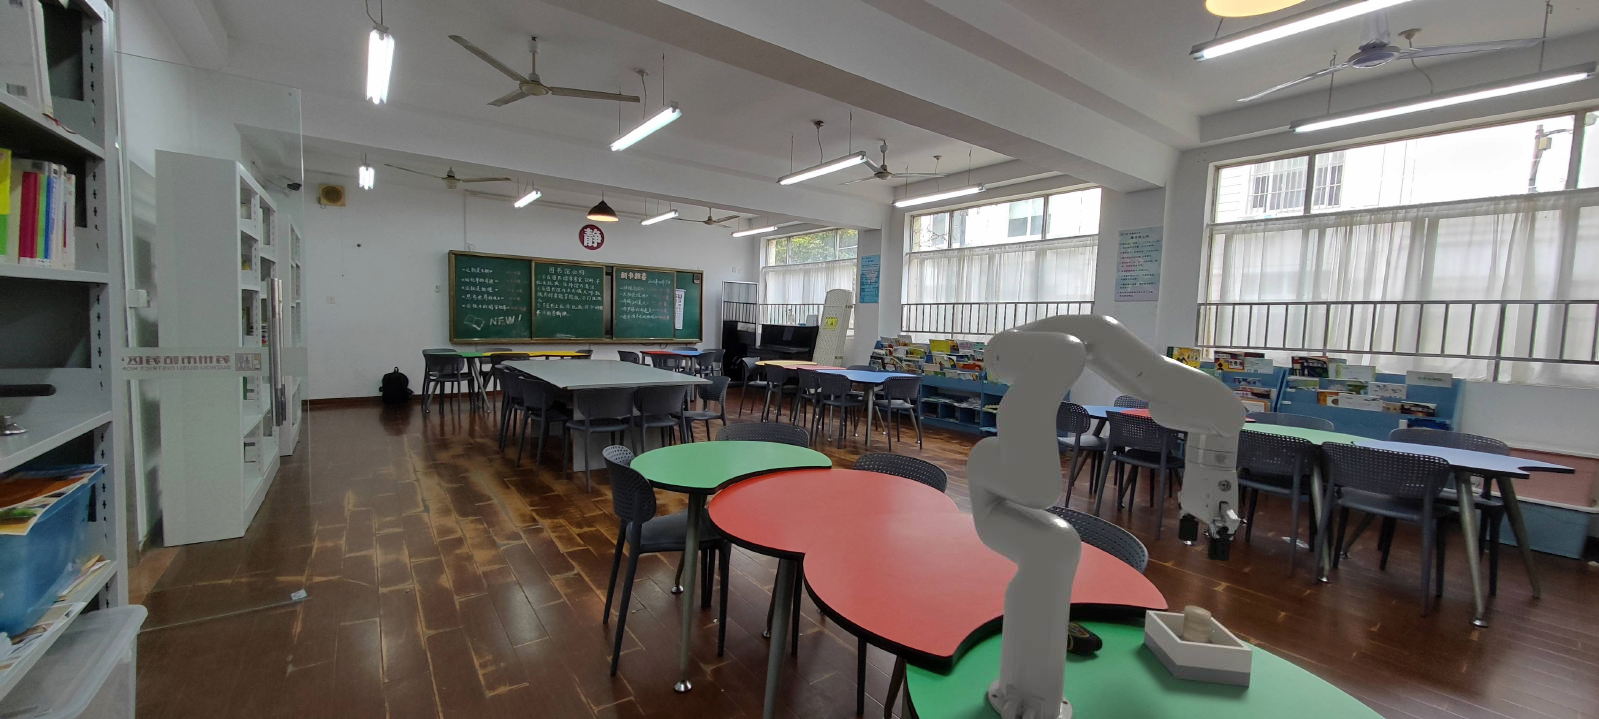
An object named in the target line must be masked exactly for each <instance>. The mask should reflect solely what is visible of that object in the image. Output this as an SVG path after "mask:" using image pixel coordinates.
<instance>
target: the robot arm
mask: <svg viewBox="0 0 1599 719" xmlns="http://www.w3.org/2000/svg"><path fill="white" fill-rule="evenodd" d="M982 355H983V364H984V366H985V369H986V371H987V372H988V373H989V375H991V376H992V377H993V378H995V379H997V380H999V381H1002V382H1006V383H1011V385H1010V386H1009V388H1008V389H1007V390H1006V392H1005V393H1004V394H1003V397H1002V398H1001V401H1000V403H999V404H998V407H997V411H996V416H995V417H996V420H995V421H996V422H995V424H996V432H997V433H996V434H997V436H988V437H984V438H982V439H981V440H979V441H977V443H975V445H974V446H973V447H972V449H971V451H970V452H969V455H968V458H967V462H966V481H967V487H968V488H967V489H968V494H969V500H970V507H971V513H972V519H973V523H974V528H975V532H976V534H977V536H978V538H979V540H980V541H981V542H982V544H983V545H984V546H986V547H987V548H989V550H992V551H993V552H995V553H997V554H999V555H1001V556H1003V557H1005V558H1006V559H1008V560H1010V561H1011V562H1013V563H1014V564H1016V565H1017V571H1016V573H1015V574H1014V576H1013V577H1012V578H1011V579H1010V581H1009V582H1008V584H1007V586H1006V588H1005V593H1004V603H1003V605H1004V606H1003V617H1002V618H1003V620H1002V636H1001V649H1000V665H999V676H998V678H995V679H994V680H993V681H991V683H989V684H990V685H989V686H988V693H987V698H988V701H989V703H990V706H992V708H993V709H994V710H995V711H996V713H997V714H998V715H1000V716H1001V718H1002V719H1073V718H1074V710H1073V707H1072V705H1071V703H1070V701H1069V700H1068V698H1066V696H1065V695H1064V689H1065V676H1066V662H1067V650H1068V649H1067V638H1068V624H1069V623H1070V621H1069V620H1070V610H1071V609H1070V607H1071V600H1072V599H1071V598H1072V592H1073V586H1074V582H1075V577H1076V573H1077V570H1078V567H1079V564H1080V561H1081V557H1082V551H1083V545H1082V539H1081V537H1080V534H1079V533H1078V531H1077V530H1076V529H1075V528H1074V526H1073V525H1071V523H1069V522H1068V521H1067V520H1065V519H1064V518H1062V517H1060V516H1058V515H1057V514H1054V513H1051V512H1048V511H1046V510H1047V509H1050V508H1052V507H1054V506H1055V505H1056V504H1058V502H1059V501H1060V499H1061V497H1062V493H1063V474H1062V466H1061V458H1060V457H1061V456H1060V452H1059V442H1058V435H1057V415H1058V411H1059V408H1060V405H1061V404H1062V402H1063V401H1064V398H1065V396H1066V395H1067V394H1068V392H1069V391H1070V390H1071V388H1072V387H1073V386H1074V385H1075V383H1076V382H1077V381H1078V380H1079V379H1080V377H1081V375H1082V374H1083V372H1084V370H1085V368H1086V369H1089V370H1090V371H1091V372H1093V373H1094V374H1096V375H1097V376H1099V377H1100V378H1102V379H1103V380H1104V381H1105V382H1107V383H1108V384H1110V386H1112V387H1113V388H1115V389H1116V390H1118V391H1119V393H1122V394H1124V395H1125V396H1128V397H1130V398H1132V399H1133V398H1134V399H1137V400H1139V401H1143V402H1145V403H1148V404H1147V410H1148V414H1149V416H1150V418H1151V420H1153V421H1154V422H1155V423H1156V424H1157V425H1160V426H1162V427H1163V428H1167V429H1172V430H1176V431H1183V432H1187V441H1186V450H1185V452H1186V453H1185V464H1186V465H1185V468H1184V473H1183V478H1182V485H1181V490H1180V491H1178V492H1177V499H1178V500H1177V502H1178V504H1177V506H1178V510H1179V512H1178V518H1179V524H1178V533H1177V535H1178V536H1177V538H1178V540H1180V541H1187V542H1188V541H1189V542H1197V541H1198V536H1199V535H1198V534H1199V525H1200V521H1202V522H1203V523H1206V524H1208V526H1209V529H1210V532H1211V535H1209V540H1208V548H1207V558H1208V559H1209V560H1212V561H1221V562H1228V561H1229V560H1230V554H1231V553H1230V552H1231V543H1232V542H1231V541H1233V539H1234V536H1235V535H1236V533H1237V529H1238V527H1239V525H1240V523H1241V520H1240V519H1239V517H1238V514H1239V482H1238V474H1237V468H1236V467H1237V458H1238V448H1239V447H1238V446H1239V439H1240V432H1241V431H1242V429H1243V428H1244V426H1245V424H1246V422H1247V420H1246V419H1247V410H1246V407H1245V405H1244V404H1245V403H1244V402H1243V400H1242V398H1241V396H1240V395H1239V394H1237V393H1236V392H1234V390H1232V389H1231V388H1230V387H1229V386H1228V385H1227V384H1226V383H1224V382H1223V381H1222V380H1220V379H1218V378H1216V377H1214V376H1212V375H1211V374H1209V373H1206V372H1204V371H1202V370H1200V369H1197V368H1195V367H1192V366H1189V365H1187V364H1184V363H1182V362H1181V361H1178V360H1175V359H1172V358H1170V357H1168V356H1164V355H1163V354H1160V353H1158V352H1157V351H1155V350H1154V349H1153V348H1152V347H1151V346H1149V345H1148V344H1147V343H1146V342H1144V341H1143V340H1142V339H1140V338H1139V337H1138V336H1137V335H1136V334H1134V333H1133V332H1132V331H1131V330H1129V329H1128V328H1127V327H1126V326H1124V325H1123V324H1122V323H1121V322H1119V321H1118V320H1116V319H1114V318H1113V317H1111V316H1109V315H1104V314H1097V313H1096V314H1095V313H1094V314H1092V313H1090V314H1088V313H1087V314H1086V313H1085V314H1080V313H1078V314H1074V313H1073V314H1058V315H1057V314H1056V315H1052V316H1048V317H1044V318H1040V319H1038V320H1035V321H1031V322H1028V323H1025V324H1020V325H1018V326H1017V325H1016V326H1014V327H1011V328H1008V329H1007V328H1006V329H1004V330H1001V331H999V332H997V333H996V334H994V335H993V336H992V337H991V338H990V339H989V340H988V342H986V345H985V347H984V351H983V354H982ZM1197 519H1198V520H1197ZM1218 527H1220V528H1218Z"/></svg>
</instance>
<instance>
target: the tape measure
mask: <svg viewBox="0 0 1599 719" xmlns="http://www.w3.org/2000/svg"><path fill="white" fill-rule="evenodd" d="M1103 645H1104V642H1103V638H1101V637H1100V636H1099V635H1097V634H1096V633H1094V632H1093V631H1091V630H1089V628H1086V627H1085V626H1083V625H1082V624H1080V623H1078V621H1071V622H1069V624H1068V638H1067V650H1068V651H1070V652H1073V653H1076V654H1080V655H1090V654H1092V653H1094V652H1098V651H1101V650H1102V649H1103Z"/></svg>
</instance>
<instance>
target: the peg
mask: <svg viewBox="0 0 1599 719" xmlns="http://www.w3.org/2000/svg"><path fill="white" fill-rule="evenodd" d="M1183 614H1184V624H1183V635H1182V641H1187V642H1196V643H1206V644H1208V643H1209V632H1210V622H1211V617H1212V613H1211V612H1210V611H1209V610H1207V609H1205V608H1203V607H1200V606H1196V605H1186V606H1184V613H1183Z"/></svg>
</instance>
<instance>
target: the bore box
mask: <svg viewBox="0 0 1599 719" xmlns="http://www.w3.org/2000/svg"><path fill="white" fill-rule="evenodd" d="M1145 611H1146V612H1145V621H1144V635H1143V643H1144V644H1145V645H1146V647H1147V648H1148V649H1149V650H1150V651H1151V653H1153V654H1154V655H1155V657H1156V658H1157V659H1158V660H1159V661H1160V662H1161V664H1162V665H1164V667H1165V668H1166V669H1167V670H1168V671H1169V673H1170V674H1171V675H1172V676H1173V677H1174V678H1175V679H1177V680H1187V681H1193V682H1194V681H1197V682H1204V683H1213V684H1222V685H1231V686H1241V687H1246V688H1247V687H1248V688H1249V687H1250V682H1251V672H1252V671H1251V670H1252V662H1253V661H1252V660H1253V659H1252V658H1253V650H1252V649H1251V648H1250V647H1249V646H1247V645H1246V643H1244V642H1243V641H1241V639H1239V638H1238V637H1236V636H1235V635H1234V634H1233V633H1232V632H1231V631H1229V630H1228V629H1227V628H1226V627H1225V626H1224V625H1222V624H1221V623H1220V622H1219V621H1217V619H1215V618H1214V617H1212V616H1211V622H1210V632H1209V643H1208V644H1206V643H1196V642H1187V641H1182V635H1183V624H1184V613H1176V612H1168V611H1158V610H1147V609H1146V610H1145ZM1213 631H1214V632H1213Z"/></svg>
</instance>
